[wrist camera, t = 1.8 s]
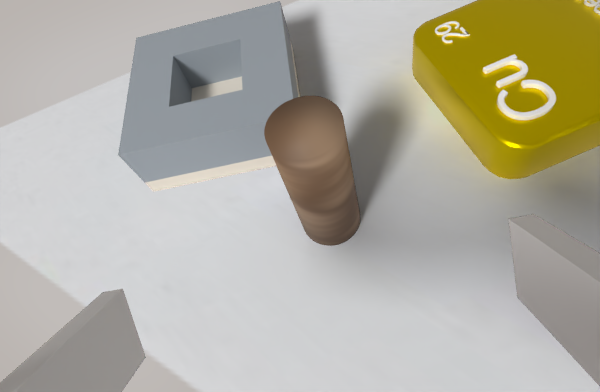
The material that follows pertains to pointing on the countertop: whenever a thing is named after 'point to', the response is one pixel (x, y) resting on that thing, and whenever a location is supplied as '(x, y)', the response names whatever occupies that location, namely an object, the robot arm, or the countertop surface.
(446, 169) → the countertop surface
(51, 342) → the robot arm
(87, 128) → the countertop surface
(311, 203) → the pin
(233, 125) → the socket block
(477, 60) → the element tile
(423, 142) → the countertop surface
